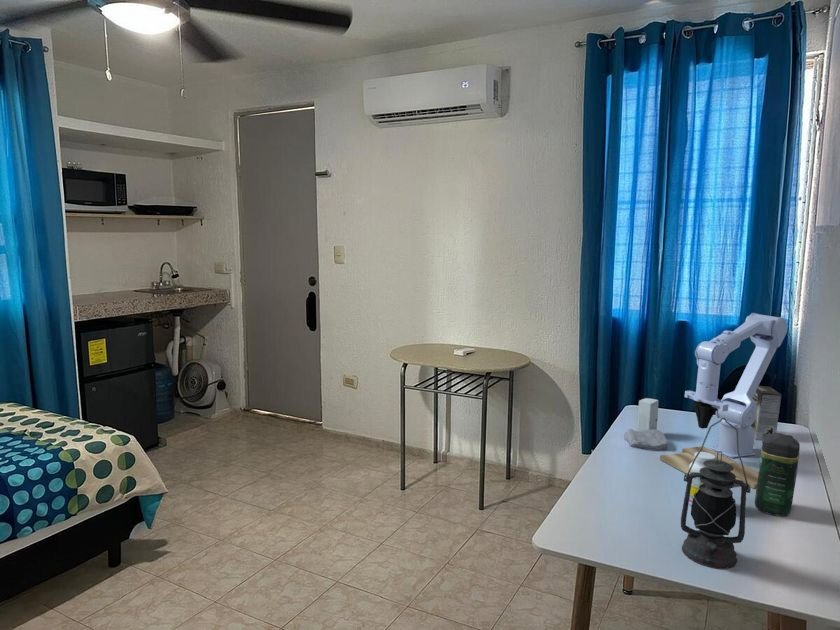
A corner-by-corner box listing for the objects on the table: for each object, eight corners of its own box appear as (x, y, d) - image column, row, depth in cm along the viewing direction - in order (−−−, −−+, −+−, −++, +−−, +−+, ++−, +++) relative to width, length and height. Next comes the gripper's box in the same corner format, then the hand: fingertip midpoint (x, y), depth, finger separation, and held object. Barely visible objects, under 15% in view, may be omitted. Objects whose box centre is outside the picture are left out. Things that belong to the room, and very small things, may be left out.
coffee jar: (790, 521, 142) (799, 446, 139) (752, 511, 146) (761, 438, 143) (793, 505, 150) (802, 434, 147) (757, 496, 154) (765, 427, 151)
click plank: (686, 456, 180) (687, 452, 180) (741, 484, 161) (742, 480, 161) (659, 459, 177) (660, 455, 176) (712, 488, 158) (713, 483, 158)
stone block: (669, 457, 184) (660, 439, 194) (671, 443, 183) (661, 426, 192) (630, 456, 185) (622, 438, 195) (631, 442, 184) (623, 425, 193)
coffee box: (744, 430, 205) (749, 384, 202) (764, 431, 204) (769, 385, 201) (755, 439, 196) (760, 392, 193) (776, 441, 195) (782, 393, 192)
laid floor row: (702, 449, 186) (703, 446, 185) (776, 485, 161) (777, 480, 161) (682, 452, 183) (682, 448, 183) (754, 488, 159) (754, 484, 159)
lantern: (676, 559, 124) (690, 420, 119) (677, 535, 133) (690, 406, 129) (744, 575, 119) (761, 430, 114) (739, 549, 129) (755, 415, 124)
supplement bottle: (713, 500, 151) (718, 452, 149) (716, 512, 145) (722, 462, 143) (684, 496, 153) (689, 448, 151) (686, 507, 147) (691, 457, 145)
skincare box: (648, 439, 193) (651, 403, 191) (635, 436, 196) (638, 400, 194) (656, 435, 197) (660, 400, 195) (643, 431, 200) (646, 397, 199)
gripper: (678, 377, 180) (674, 420, 182) (716, 390, 166) (711, 437, 168) (697, 376, 182) (692, 418, 184) (736, 388, 168) (730, 435, 170)
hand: (702, 427), depth 176 cm, fingers closed
